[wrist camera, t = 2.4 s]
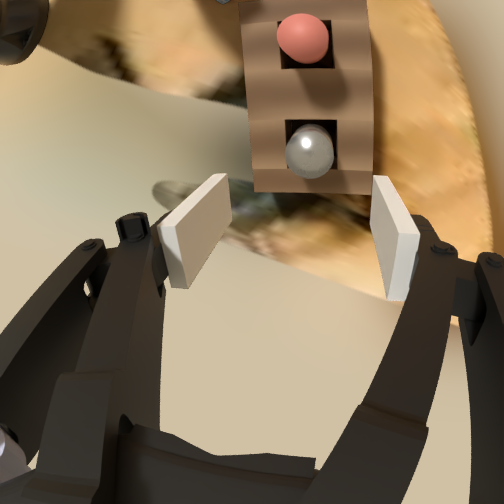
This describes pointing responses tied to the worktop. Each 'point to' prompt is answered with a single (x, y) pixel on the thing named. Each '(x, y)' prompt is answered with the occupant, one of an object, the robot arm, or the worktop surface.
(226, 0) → the ink cartridge box
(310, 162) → the grey plug
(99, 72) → the worktop surface
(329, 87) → the walnut block
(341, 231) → the worktop surface
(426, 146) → the worktop surface
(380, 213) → the robot arm
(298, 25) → the red plug
